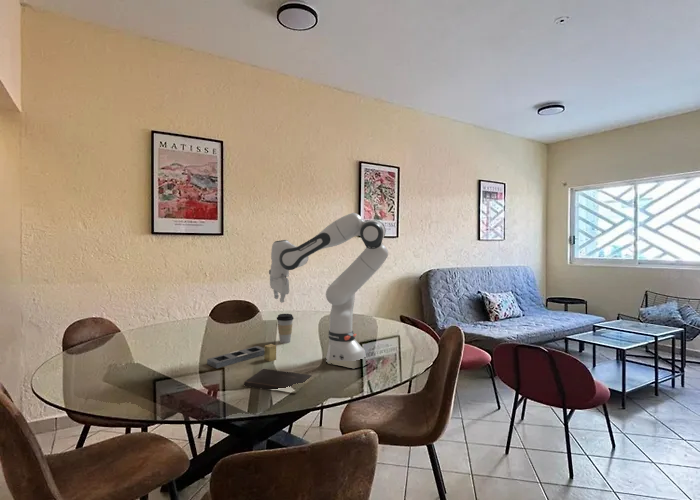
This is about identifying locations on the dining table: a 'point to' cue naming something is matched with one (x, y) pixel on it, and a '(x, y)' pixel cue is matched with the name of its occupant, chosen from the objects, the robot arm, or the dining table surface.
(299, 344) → the dining table surface
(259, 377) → the hardcover book
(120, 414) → the dining table surface
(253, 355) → the grey slotted tray
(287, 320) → the coffee cup
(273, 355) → the block
